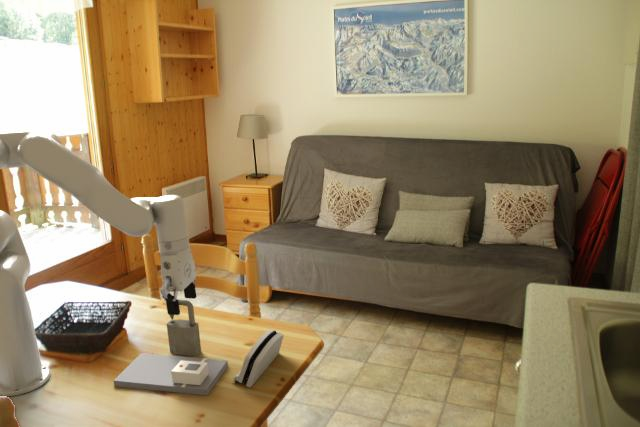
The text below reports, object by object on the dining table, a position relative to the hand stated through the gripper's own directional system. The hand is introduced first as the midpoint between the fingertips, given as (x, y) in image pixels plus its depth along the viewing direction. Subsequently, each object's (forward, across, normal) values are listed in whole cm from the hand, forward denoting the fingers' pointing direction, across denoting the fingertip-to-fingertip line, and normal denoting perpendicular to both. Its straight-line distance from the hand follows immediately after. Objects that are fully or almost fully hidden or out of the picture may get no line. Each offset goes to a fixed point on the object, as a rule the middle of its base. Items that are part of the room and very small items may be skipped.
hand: (182, 305), depth 144 cm
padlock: (+13, 0, +1) cm, 13 cm away
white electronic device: (+11, -15, -8) cm, 20 cm away
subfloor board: (+13, -12, -1) cm, 18 cm away
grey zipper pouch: (+14, -5, -22) cm, 27 cm away
